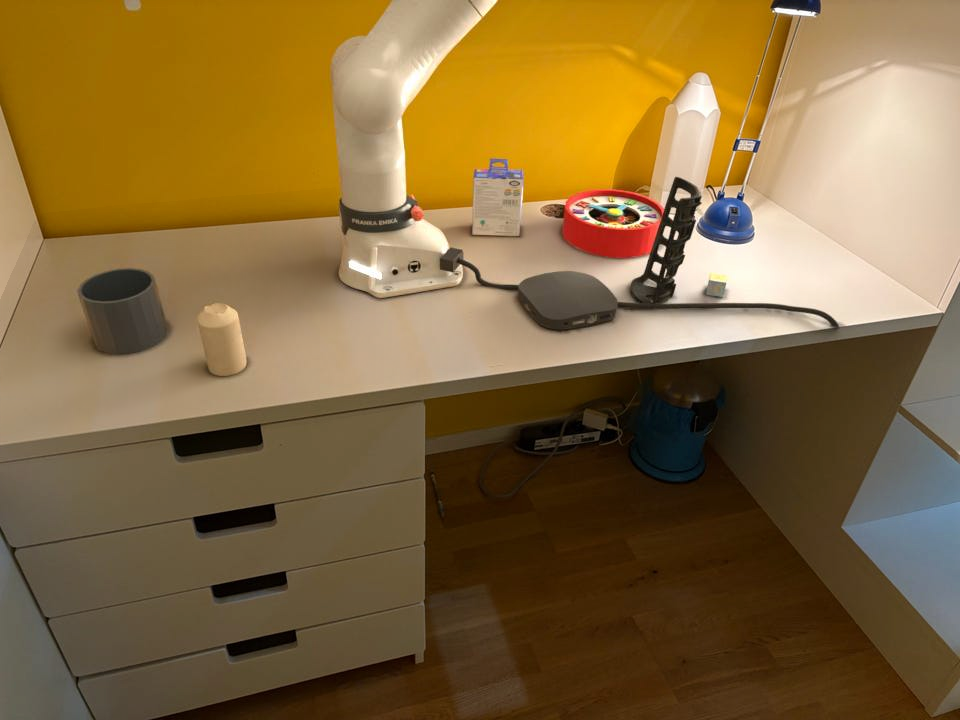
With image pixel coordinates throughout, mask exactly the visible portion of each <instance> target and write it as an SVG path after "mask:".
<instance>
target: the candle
mask: <svg viewBox="0 0 960 720" xmlns="http://www.w3.org/2000/svg"><path fill="white" fill-rule="evenodd" d="M196 320H197V326H198V331H199V335H200V339H201V343H202V348H203V351H204V352H203V353H204V356H205V360H206V365H207V369H208V371H209V372H210V373H211V374H212V375H215V376H219V377H228V376H233V375H236V374H239V373H240V372H242V371H243V370H244V369H245V368H246V367H247V362H248V361H247V353H246V350H245V345H244V340H243V335H242V329H241V323H240V319H239V314H238V311H236V309H234V308H232V307H230V306H229V305H227V304H226V303H223V302H222V303H221V302H215V303H213V304H211V305H207V306H205V307H204V308H203V310H202V311H201V312H200V313H199V314H198V315H197V318H196Z"/></svg>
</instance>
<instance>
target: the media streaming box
mask: <svg viewBox="0 0 960 720" xmlns="http://www.w3.org/2000/svg"><path fill="white" fill-rule="evenodd" d="M518 285H519V286H518V290H517V299H518V301H519V302H520V303H521V305H522V306H523V307H524V309H525V310H526V311H527V313H528V314H529V315H530V316H531V317H532V318H533V319H534V320H535V321H536V322H537V323H538V324H539V325H540V326H542V327H544V328H547V329H551V330H557V331H558V330H559V331H561V330H569V329H575V328H576V329H577V328H581V327H587V326H591V325H595V324H596V325H597V324H601V323H606V322H609V321H611V320H613V319H615V317H616V316H617V312H618V307H617V306H618V302H619V301H618V299H617V297H616V296H615V294H614V292H612V290H610V289H609V287H607V286H606V284H605V283H603V282H602V281H601V280H600V279H598V278H597V277H595V276H593V275H592V274H589V273H586V272H580V271H575V270H559V271H558V270H557V271H551V272H545V273H539V274H536V275H533V276H530V277H526V278H524V279H523V280H522V281H520V282H519V284H518Z"/></svg>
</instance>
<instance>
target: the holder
mask: <svg viewBox="0 0 960 720" xmlns="http://www.w3.org/2000/svg"><path fill="white" fill-rule="evenodd" d="M679 189H681V190H683V191H685V192H687V193H688V194H690V197H682V198H679V200H678V199H676V195H677V192H678V190H679ZM701 193H702V192H701V190H700V189H699V188H698V186H696V185H695V184H694V183H692V182H690V181H688V180H686V179H684V178H683V177H680V176H675V177H674V179H673V180H672V183H671V187H670V190H669V194H668V195H667V199H666V202H665V205H664V207H663V208H664V211H663V215H662V218H661V221H660V224H659V227H658V230H657V233H656V236H655V240H654V243H653V246H652V249H651V252H650V253H649V254H648V255H649V256H648V259H647V262H646V265H645V269H644V272H643V273H642V274H641V275H640V276H637V277H636V278H633V279H632V280H631V282H630V286H629V290H630V294H631V295H632V297H633V298H634V299H635V300H636V301H637V303H652V304H655V303H666V302H668V300H669V299H672V298H673V296H674V294H675V291H676V287H677V284H676V283H675V282H676V280H675V278H674V277H676V275H677V273H678V270H679V268H680V266H681V265H683V263H684V262H685V261H684V260H685V257H686V254H684V253H685V251H684V250H685V247H686V244H687V242H689V241H690V240H691V237H692V235H693V233H694V229H695V226H696V223H697V219H696V216H695V215H696V211H697V208H698V207H699V206H702V204H703V202H701V199H702V198H703V196H702V194H701ZM672 208H674V209H675V211H674V212H675V213H674V216H673V218H671V217H670V214H671V210H672ZM666 227H667V228H668V227H669V228H670V231H669V233H668V234H669V235H668V238H667V237H665V236H664V232H665V229H666ZM676 232H677V234H678V235H677V238H676V239H675V236H676ZM659 245H660V246H664V247H665V251H664V254H663V256H661V255H660V254H659V253H658V251H659V249H660V246H659ZM655 263H658V264H659V265H661V266H660V270H659V274H657V273H656V272H654V271H653V267H654V264H655ZM648 280H650V281H652V282H654V283H655V284H656V286H651V285H646V284H644V283H645V282H647V281H648ZM649 298H653V299H652V301H651V300H650V299H649Z"/></svg>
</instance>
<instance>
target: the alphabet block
mask: <svg viewBox="0 0 960 720" xmlns="http://www.w3.org/2000/svg"><path fill="white" fill-rule="evenodd" d="M727 281H728V275H727V274H721V273H715V272H710V274H709V278H708V281H707V286H706V293H705V294H706V295H708V296H713V297H720V298H723V297H724V295H725V291H726V286H727Z"/></svg>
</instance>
